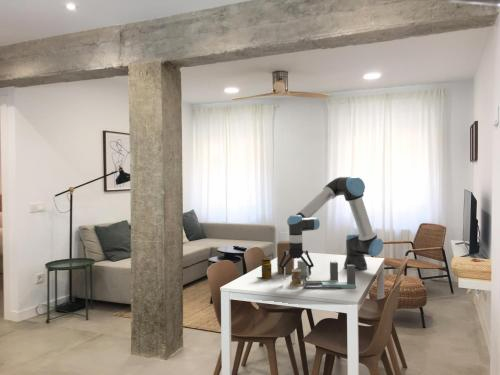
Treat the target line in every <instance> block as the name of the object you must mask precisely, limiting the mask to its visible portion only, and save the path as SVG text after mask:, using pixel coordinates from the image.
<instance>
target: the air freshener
mask: <svg viewBox="0 0 500 375" xmlns="http://www.w3.org/2000/svg"><path fill="white" fill-rule="evenodd" d="M307 267H308V266H307V265H306V264H305V262H304V261H303V260H302V259H301V260H300V259H299V260H297V267H296V268H294V270H301V279H306V278H307ZM311 275H312V272H311V273H309V277H310V276H311Z"/></svg>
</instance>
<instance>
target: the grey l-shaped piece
mask: <svg viewBox="0 0 500 375" xmlns="http://www.w3.org/2000/svg"><path fill="white" fill-rule="evenodd" d="M321 286H341V289H356V288H357V284H356V270H355V265H347V269H346V281H338V282H322V285H321Z"/></svg>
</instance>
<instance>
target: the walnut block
mask: <svg viewBox="0 0 500 375" xmlns="http://www.w3.org/2000/svg"><path fill="white" fill-rule="evenodd" d="M291 281H292V284H301V281H302V278H301V270H295V269H294V270H292V274H291Z"/></svg>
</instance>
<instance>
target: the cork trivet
mask: <svg viewBox="0 0 500 375" xmlns="http://www.w3.org/2000/svg"><path fill="white" fill-rule="evenodd" d="M290 286H291V287H304V284H303V280H301V284H292V280H290Z"/></svg>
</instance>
